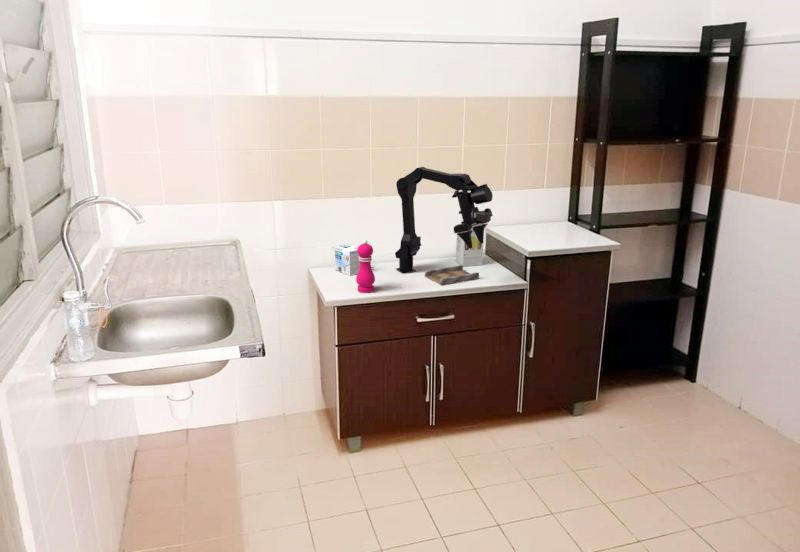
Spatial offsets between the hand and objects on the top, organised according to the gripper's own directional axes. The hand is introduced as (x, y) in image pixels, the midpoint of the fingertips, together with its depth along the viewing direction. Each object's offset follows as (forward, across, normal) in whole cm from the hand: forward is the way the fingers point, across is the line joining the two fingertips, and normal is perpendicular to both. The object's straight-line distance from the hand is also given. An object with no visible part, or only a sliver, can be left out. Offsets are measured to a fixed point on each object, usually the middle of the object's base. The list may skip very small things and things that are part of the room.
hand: (476, 245), depth 242 cm
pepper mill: (+6, -30, +35) cm, 46 cm away
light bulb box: (0, -15, +54) cm, 56 cm away
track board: (+12, +3, +16) cm, 20 cm away
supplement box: (+11, +25, +20) cm, 34 cm away
